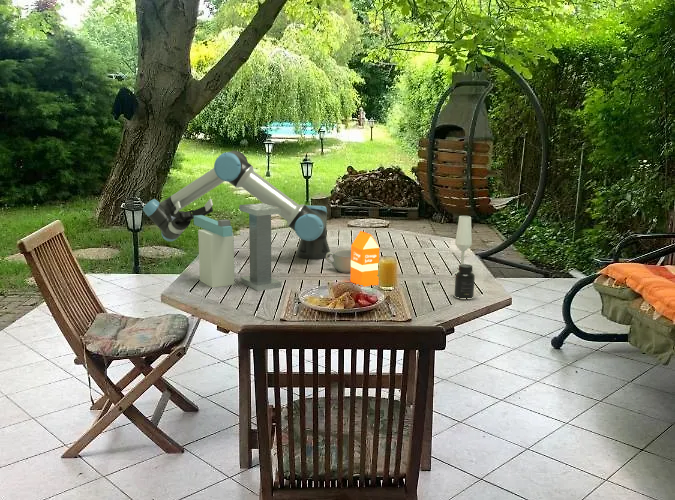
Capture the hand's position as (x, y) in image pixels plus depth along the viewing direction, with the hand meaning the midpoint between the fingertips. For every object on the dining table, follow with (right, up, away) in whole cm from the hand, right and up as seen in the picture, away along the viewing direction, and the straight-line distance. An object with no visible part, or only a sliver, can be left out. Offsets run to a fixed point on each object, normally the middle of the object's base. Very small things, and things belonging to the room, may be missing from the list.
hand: (195, 203), depth 258 cm
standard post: (+27, -32, -12) cm, 44 cm away
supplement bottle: (+103, -36, -24) cm, 111 cm away
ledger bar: (+9, -11, -12) cm, 19 cm away
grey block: (+10, -31, -10) cm, 35 cm away
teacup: (+59, -27, +11) cm, 66 cm away
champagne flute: (+108, -29, +9) cm, 112 cm away
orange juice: (+67, -32, -7) cm, 75 cm away
